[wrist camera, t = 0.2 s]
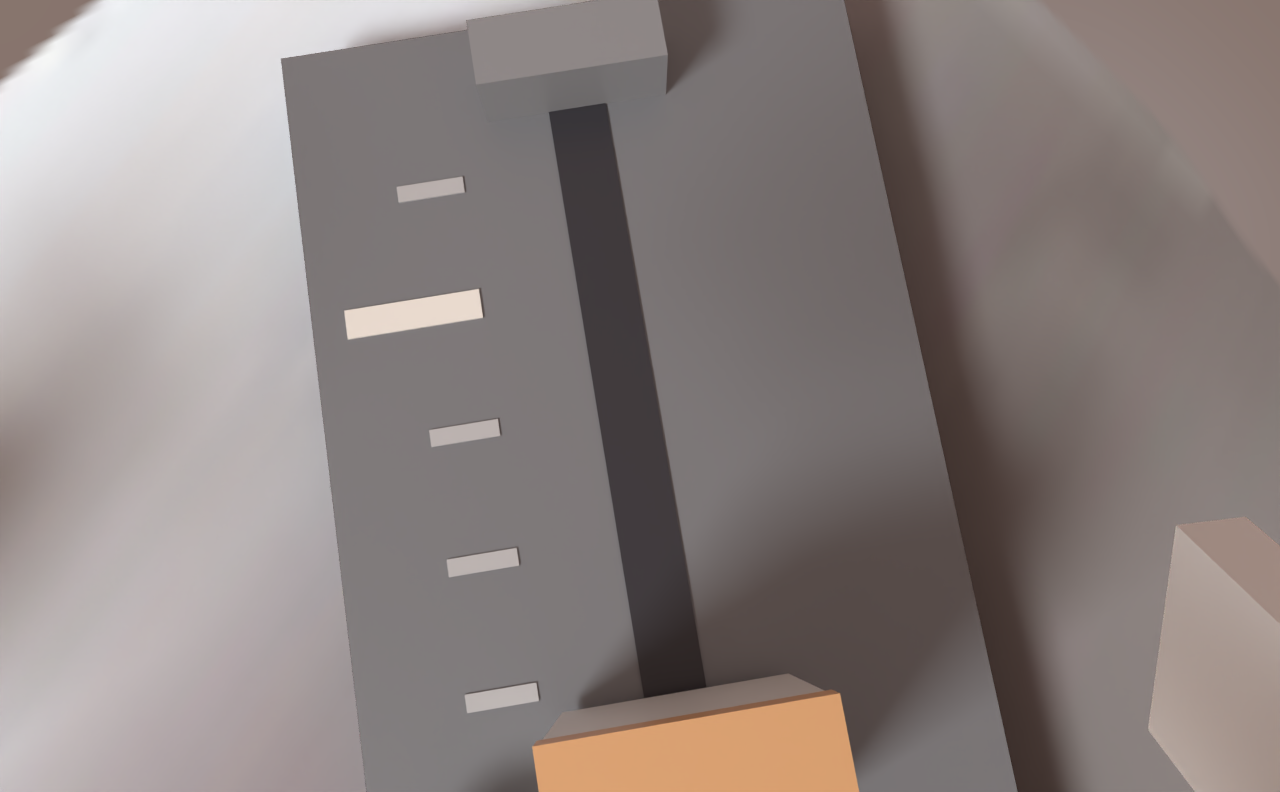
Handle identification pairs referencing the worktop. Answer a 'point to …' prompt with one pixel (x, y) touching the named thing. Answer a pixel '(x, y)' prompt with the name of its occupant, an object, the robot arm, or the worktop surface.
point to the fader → (704, 742)
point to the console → (627, 389)
